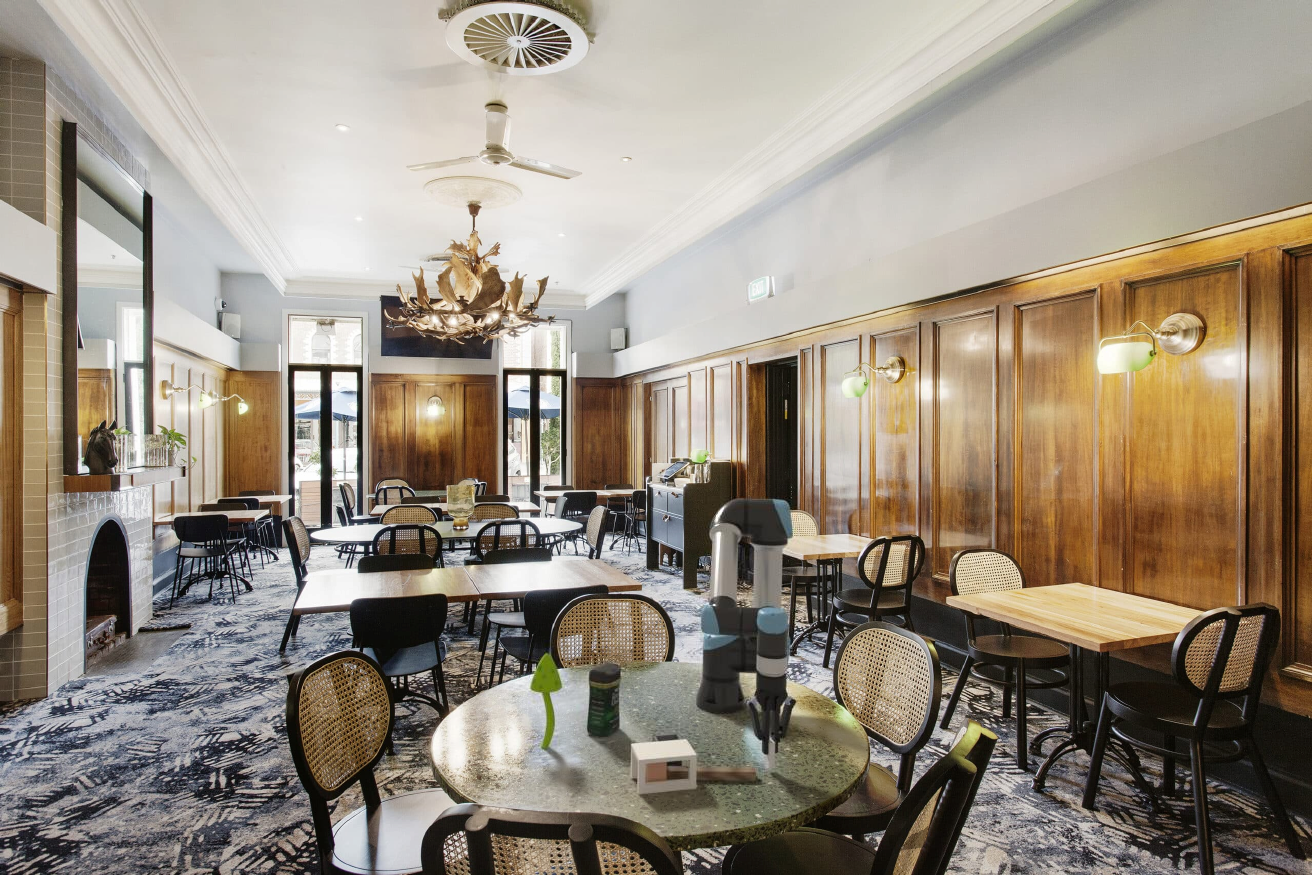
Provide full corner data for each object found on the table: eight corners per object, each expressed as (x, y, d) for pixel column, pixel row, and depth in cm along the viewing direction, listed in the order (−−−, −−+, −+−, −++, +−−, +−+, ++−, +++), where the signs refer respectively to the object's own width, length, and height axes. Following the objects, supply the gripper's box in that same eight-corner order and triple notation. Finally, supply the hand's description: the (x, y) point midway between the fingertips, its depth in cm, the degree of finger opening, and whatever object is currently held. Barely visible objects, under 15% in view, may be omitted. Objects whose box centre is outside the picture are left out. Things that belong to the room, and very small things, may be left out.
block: (661, 778, 172) (661, 753, 172) (666, 787, 168) (666, 761, 168) (643, 779, 171) (643, 755, 171) (647, 788, 167) (648, 763, 167)
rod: (754, 777, 174) (754, 767, 174) (755, 782, 172) (755, 771, 172) (664, 775, 174) (665, 765, 174) (665, 780, 172) (665, 770, 172)
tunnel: (679, 760, 182) (679, 729, 182) (696, 788, 167) (696, 754, 167) (625, 764, 179) (626, 733, 179) (638, 794, 164) (639, 759, 164)
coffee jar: (607, 740, 193) (608, 672, 193) (582, 734, 196) (583, 667, 196) (624, 727, 202) (625, 662, 202) (600, 722, 205) (601, 658, 205)
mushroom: (532, 739, 192) (534, 647, 192) (563, 740, 192) (565, 648, 192) (525, 753, 184) (527, 657, 184) (557, 754, 184) (559, 658, 184)
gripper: (789, 665, 182) (787, 757, 182) (741, 668, 179) (739, 761, 179) (802, 675, 174) (800, 770, 174) (752, 678, 171) (750, 775, 171)
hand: (769, 766), depth 177 cm, fingers closed
